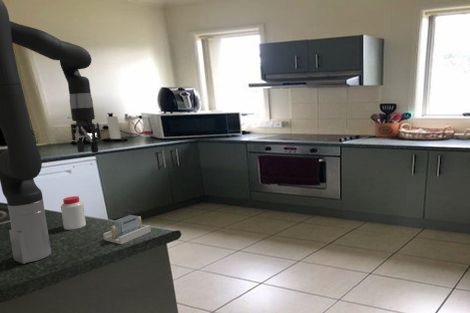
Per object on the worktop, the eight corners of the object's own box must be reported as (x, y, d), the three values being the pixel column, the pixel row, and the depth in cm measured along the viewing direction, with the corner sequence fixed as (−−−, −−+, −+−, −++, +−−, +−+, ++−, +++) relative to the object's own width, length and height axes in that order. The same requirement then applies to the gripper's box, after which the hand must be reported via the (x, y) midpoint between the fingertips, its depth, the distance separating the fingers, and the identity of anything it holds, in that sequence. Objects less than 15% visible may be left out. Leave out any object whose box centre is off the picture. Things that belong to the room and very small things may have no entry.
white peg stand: (121, 244, 117) (119, 229, 116) (104, 239, 122) (102, 225, 121) (150, 231, 126) (149, 217, 126) (133, 228, 132) (132, 214, 131)
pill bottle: (89, 222, 143) (85, 195, 141) (79, 229, 135) (75, 200, 134) (71, 223, 144) (67, 195, 142) (59, 230, 136) (55, 201, 135)
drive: (122, 237, 120) (121, 222, 119) (115, 235, 122) (113, 220, 122) (139, 230, 126) (138, 216, 125) (132, 228, 128) (130, 214, 127)
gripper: (61, 108, 131) (67, 153, 133) (83, 106, 122) (90, 154, 125) (80, 107, 137) (86, 150, 139) (103, 105, 128) (109, 151, 131)
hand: (88, 152), depth 132 cm, fingers open, 8 cm apart
